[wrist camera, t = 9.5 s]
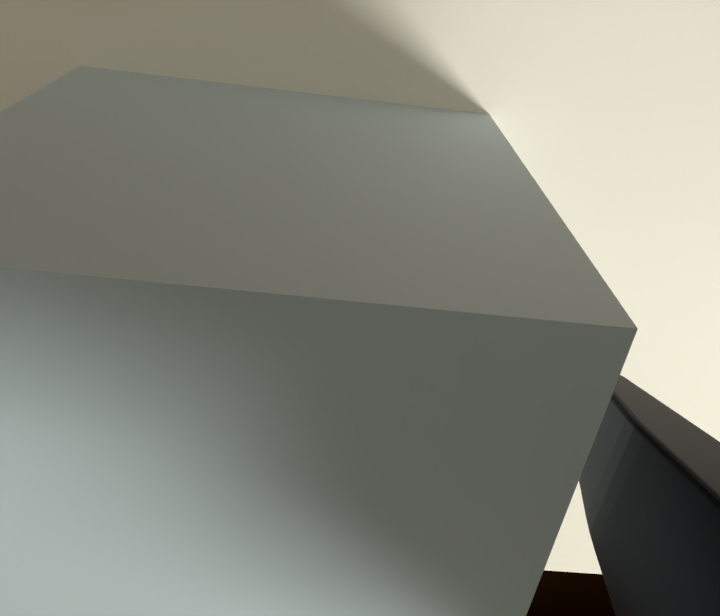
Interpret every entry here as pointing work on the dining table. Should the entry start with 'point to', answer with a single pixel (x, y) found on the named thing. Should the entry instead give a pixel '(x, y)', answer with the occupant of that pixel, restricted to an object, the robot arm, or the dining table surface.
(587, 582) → the dining table surface
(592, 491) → the robot arm
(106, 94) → the light gray cube
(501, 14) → the painted board
